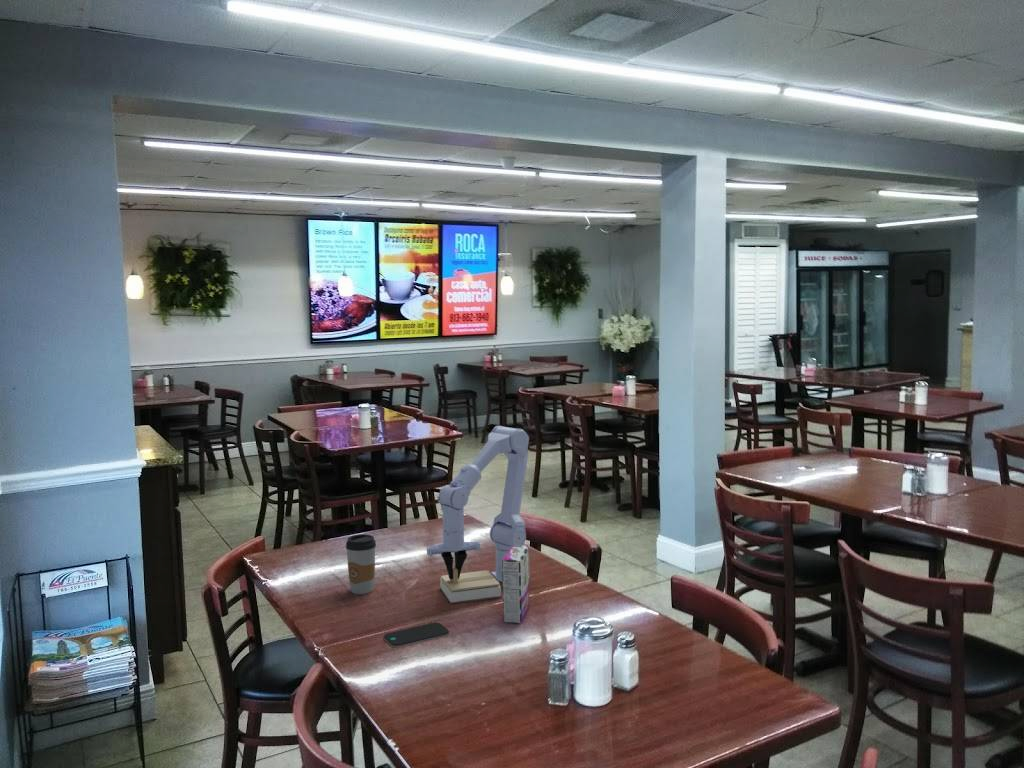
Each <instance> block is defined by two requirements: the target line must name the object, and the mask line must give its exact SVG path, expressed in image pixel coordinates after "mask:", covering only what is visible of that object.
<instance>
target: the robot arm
mask: <svg viewBox="0 0 1024 768" xmlns="http://www.w3.org/2000/svg"><path fill="white" fill-rule="evenodd" d="M529 440H530V436H529V434H527V433H526V431H525V430H524V429H522V428H516V427H515V428H514V427H508V426H503V425H495V426H494V427H493V429H492V430H491V432H489V433H488V435H487V441H486V443H485V444H484V446H483V447H482V449H480V451H479V453H478V454H477V455H476V457H475V458H474V460H473V461H472V463H471V464H465V465H464V466H462V467H461V468H460V471H459V472H458V474H457V475H456V476H455V477H454V478H453V480H451V481H450V483H449V484H447V485H444V486H443V487H442V488H441V489H440V490H439V493H438V496H437V501H438V503H439V504H440V507H441V508H440V510H441V512H442V543H441V544H437V545H432V546H427V547H426V555H427V557H431V556H433V555H441V557H442V560H443V562H444V564H445V567H446V571H447V575H449V578H450V580H452V579H453V566H455V567H456V568H457V570H458V579H459V578H460V573H461V572H462V569H463V566H464V563H465V561H466V559H467V558H468V557H467V556H468V553H467V552H469V551H470V552H471V551H476V552H477V551H481V543H480V542H479V541H465V527H464V525H465V521H464V520H465V517H464V514H465V513H464V510H465V509H464V507H465V506H466V505H467V504H468V502H469V497H470V495H471V492H472V491H473V489H474V488H475V487H476V486H477V484H478V483H479V481H481V479H482V472H483V471H484V469H485V468H486V467H487V466H488V465H489V464H490V463H491V462H492V461H493V460H494V459H495V458H496V457H497V456H498V455H499V454H504V455H505V457H506V458H507V459H508V461H507V468H506V475H505V483H504V490H503V496H502V502H501V503H502V504H501V510H500V513H498V514H497V515H496V516H495V517H494V518H493V523H492V525H491V527H490V530H489V538H490V540H491V541H492V542H493V546H494V547H495V571H491V575H493V576H494V578H495V579H496V580H497V581H498V582H499V583H501V582H502V583H503V576H502V560H503V558H504V557H505V555H506V554H507V552H508V551H509V549H510V547H527V545H524V544H525V542H526V539H527V533H526V522H525V521H524V520H523V517H522V516H520V514H521V513H520V512H521V508H522V507H521V506H522V500H523V492H524V487H525V478H526V471H527V464H528V458H529V453H528V452H529V451H528V447H529V442H530V441H529ZM453 554H454V557H453ZM528 569H529V570H530V554H529V552H528ZM530 578H531V576H530V575H529V579H530Z"/></svg>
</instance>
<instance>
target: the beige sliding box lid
mask: <svg viewBox="0 0 1024 768" xmlns="http://www.w3.org/2000/svg"><path fill="white" fill-rule="evenodd" d="M440 578H442V579H443V581H444V582H445V584H446V585H447V586H448V588H449V589H450V591H451V592H452V591H460V590H468V589H476V588H484V587H492V586H501V584H500V583H501V582H499V581H498V580H497V579H496V578H495V577H494V576H493V575H492V572H490V571H489V569H488V570H487V569H486V570H479V571H469V572H462V573H461V572H460V578H459V579H458V570H457V568H456V567H455V565H453V579H452V580H450V578H449V575H448V574H445V575H441V576H440Z"/></svg>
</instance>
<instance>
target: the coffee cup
mask: <svg viewBox="0 0 1024 768" xmlns="http://www.w3.org/2000/svg"><path fill="white" fill-rule="evenodd" d="M376 543H377V542H376V539H375V537H374V535H371V534H356V535H351V536H349V537H347V541H346V542H345V549H346V556H347V570H348V579H349V589H350V591H351V593H352V594H354V595H366V594H369V593H371V592H373V589H374V586H375V573H376V572H375V571H376V570H375V568H376V546H377V544H376Z"/></svg>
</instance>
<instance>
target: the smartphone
mask: <svg viewBox="0 0 1024 768" xmlns="http://www.w3.org/2000/svg"><path fill="white" fill-rule="evenodd" d="M449 634H450V631H449V629H448V628H447V627H446V626H444V625H443V624H441V623H440V622H430V623H426V624H421V625H418V626H413V627H408V628H404V629H400V630H395V631H391V632H387V633H385V634H384V635H383V639H384V641H386V643H388V645H390V646H391V647H394V648H400V647H405V646H408V645H413V644H417V643H421V642H425V641H429V640H433V639H437V638H442V637H446V636H448V635H449Z"/></svg>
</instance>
